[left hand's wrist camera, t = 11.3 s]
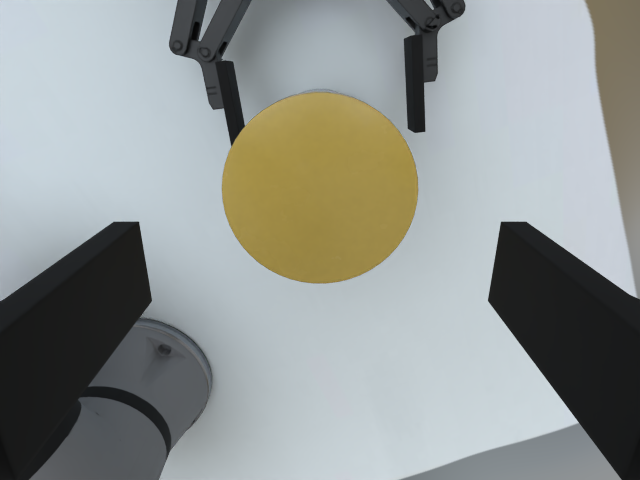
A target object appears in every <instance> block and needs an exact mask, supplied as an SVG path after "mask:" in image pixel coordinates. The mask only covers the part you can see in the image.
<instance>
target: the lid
mask: <svg viewBox="0 0 640 480" xmlns="http://www.w3.org/2000/svg"><path fill="white" fill-rule="evenodd" d="M222 197H223V204H224V209H225V214H226V216H227V219H228V222H229V225H230V227H231V229H232V231H233V233H234V235H235V236H236V238H237V239H238V241H239V242H240V244H241V245H242V246H243V248H244V249H245V250H246V251H247V252H248V253H249V254H250V255H251V256H252V257H253V258H254V259H255V260H256V261H258V262H259V263H260V264H262V265H263V266H265V267H266V268H267V269H269V270H271V271H273V272H275V273H277V274H279V275H281V276H284V277H286V278H289V279H292V280H297V281H301V282H307V283H333V282H339V281H344V280H348V279H351V278H354V277H356V276H359V275H361V274H363V273H365V272H367V271H369V270H371V269H372V268H374V267H375V266H377V265H379V264H380V263H381V262H382V261H384V260H385V259H386V258H387V257H388V256H389V255H390V254H391V253H392V252H393V251H394V250H395V249H396V248H397V246H398V245H399V244H400V242H401V241H402V239H403V238H404V236H405V235H406V233H407V231H408V229H409V227H410V225H411V222H412V219H413V217H414V213H415V209H416V205H417V197H418V177H417V171H416V166H415V163H414V159H413V156H412V153H411V151H410V149H409V147H408V145H407V143H406V141H405V139H404V138H403V137H402V135H401V134H400V132H399V131H398V129H397V128H396V127H395V126H394V125H393V124H392V123H391V122H390V120H388V119H387V118H386V117H385V116H384V115H383V114H381V113H380V112H379V111H377V110H376V109H374V108H373V107H371V106H369V105H368V104H366V103H365V102H363V101H360V100H358V99H356V98H354V97H351V96H348V95H344V94H341V93H335V92H328V91H312V92H305V93H299V94H296V95H292V96H289V97H287V98H284V99H282V100H280V101H277V102H276V103H274V104H272V105H271V106H269V107H267V108H266V109H264V110H262V111H261V112H260V113H259V114H258V115H256V116H255V117H254V118H253V119H251V121H250V122H249V123H248V124H247V125H246V126H245V127H244V128H243V129H242V131H241V132H240V134H239V135H238V136H237V138H236V139H235V141H234V143H233V145H232V147H231V149H230V151H229V154H228V157H227V159H226V162H225V166H224V172H223V178H222Z"/></svg>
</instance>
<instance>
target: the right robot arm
mask: <svg viewBox="0 0 640 480" xmlns="http://www.w3.org/2000/svg"><path fill="white" fill-rule="evenodd" d="M251 1H252V0H221V2H220V4H219V6H218V8H217V10H216V12H215V14H214V16H213V18H212V20H211V22H210V24H209V26H208V28H207V30H206V32H205V34H204V36H203V38H202V40H201V42H199V41H198V40H199V35H200V31H201V26H202V22H203V18H204V13H205V9H206V4H207V0H178V2H177V7H176V12H175V17H174V22H173V27H172V31H171V36H170V41H169V47H170V50H171V51H172V52H173V53H174V54H176V55H180V56H184V57H188V58H192V59H195V60H196V61H198V62H199V63H200V65H201V67H202V71H203V76H204V81H205V86H206V91H207V96H208V100H209V104H210V105H211V107H212V109H213V110H214V109H222V108H224V111H225V116H226V121H227V126H228V131H229V136H230V141H231V146H232V145H233V143H234V141H235V139H236V138H237V136H238V135H239V134H240V132H241V131H242V129H243V128H244V127H245V125H244V119H243V114H242V108H241V103H240V97H239V92H238V86H237V81H236V75H235V70H234V64H233V62H232V61H226V60H225V61H222V60H223V59H221V58H222V56H223V54H224V52H225V50H226V48H227V46H228V44H229V42H230V40H231V39H232V37H233V35H234V33H235V31H236V29H237V27H238V25H239V23H240V21H241V20H242V18H243V16H244V14H245V12H246V10H247V8H248V6H249V4H250V2H251ZM430 1H431V3H432V5H433V7H434V10H432V9H431V8H430V7H429V6H428V5H427V4H426V2H425V1H424V0H387V2H388V3H389V4H390V5H391V6H392V7H393V8H394V9H395V10H396V12H397V13H398V14H399V15H400V16H401V17H402V18H403V19H404V20H405V22H406V23H407V24H408V25H409V26H410V27H411V28H412V29H413V31H414V32H415V35H413V36H409V37H407V38H405V39H404V52H405V75H406V98H407V120H408V129H409V130H411V131H413V132H414V133H418V132H425V106H424V82H432V81H435V80H436V77H437V74H438V65H437V34H438V31H439V29H440V28H441V27H442V26H443V25H445V24H447V23H449V22H450V21H452V20H454V19H456V18H458V17H460V16H461V15H462V14H463V13H464V11H465V3H464V0H430Z"/></svg>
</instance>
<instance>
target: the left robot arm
mask: <svg viewBox="0 0 640 480" xmlns="http://www.w3.org/2000/svg"><path fill="white" fill-rule="evenodd" d="M151 302H152V298H151V292H150V286H149V280H148V274H147V268H146V262H145V256H144V250H143V244H142V237H141V231H140V225H139V222H113V223H111V224H110V225H109V226H107V227H106V228H104V229H103V230H102V231H100V232H99V233H97V234H96V235H94V236H93V237H92V238H90V239H89V240H87V241H86V242H85V243H83V244H82V245H80V246H79V247H78V248H76V249H75V250H73V251H72V252H70V253H69V254H68V255H66V256H65V257H63V258H62V259H61V260H59V261H58V262H56V263H55V264H53V265H52V266H51V267H49V268H48V269H46V270H45V271H44V272H42V273H41V274H39V275H38V276H36V277H35V278H34V279H32V280H31V281H29V282H28V283H27V284H25V285H24V286H22V287H21V288H19V289H18V290H17V291H15V292H14V293H12V294H11V295H10V296H8V297H7V298H5V299H4V300H2V301H0V480H159V478H160V475H161V472H162V470H163V467H164V465H165V462H166V460H167V457H168V455H169V452H170V450H171V449H172V448H173V446H174V445H175V444H176V443H177V441H178V440H179V439H180V437H181V436H182V435H183V434H184V433H185V431H186V430H188V429H189V428H190V427H191V426H192V425H193V424H194V423H195V422H196V421H197V419H198V418H199V417H200V415H201V414H202V412H203V410H204V408H205V406H206V403H207V401H208V398H209V395H210V391H211V386H212V376H211V370H210V367H209V364H208V362H207V360H206V358H205V356H204V354H203V353H202V351H201V350H200V349H199V347H198V346H197V345H196V344H195V343H194V342H193V341H192V340H191V339H190V338H189V337H187V336H186V335H185V334H183V333H182V332H180V331H178V330H177V329H175V328H173V327H171V326H169V325H166V324H164V323H161V322H158V321H153V320H149V319H141V318H140V316H141V315H142V314H143V312H144V311H145V310H146V308H147V307H148V306H149V304H150V303H151ZM488 302H489V303H490V304H491V306H492V307H493V308H494V310H495V311H496V312H497V314H498V315H499V316H500V318H501V319H502V320H503V322H504V323H505V324H506V326H507V327H508V328H509V330H510V331H511V332H512V334H513V335H514V336H515V338H516V339H517V340H518V342H519V343H520V344H521V346H522V347H523V348H524V350H525V351H526V352H527V354H528V355H529V356H530V358H531V359H532V360H533V362H534V363H535V364H536V366H537V367H538V368H539V370H540V371H541V372H542V374H543V375H544V376H545V378H546V379H547V380H548V382H549V383H550V384H551V386H552V387H553V388H554V390H555V391H556V392H557V394H558V395H559V396H560V398H561V399H562V400H563V402H564V403H565V404H566V406H567V407H568V408H569V410H570V411H571V412H572V414H573V415H574V416H575V418H576V419H577V421H578V422H579V423H580V425H581V426H582V427H583V429H584V430H585V431H586V433H587V434H588V435H589V437H590V438H591V439H592V441H593V442H594V443H595V445H596V446H597V447H598V449H599V450H600V451H601V453H602V454H603V455H604V457H605V458H606V459H607V461H608V462H609V463H610V464H611V466H612V467H613V469H614V470H615V471H616V473H617V474H618V475H619V477H620V478H621V479H622V480H640V299H638V298H635V297H633V296H631V295H629V294H628V293H626V292H625V291H623V290H622V289H621V288H619V287H618V286H616V285H615V284H613V283H612V282H611V281H609V280H608V279H606V278H605V277H604V276H602V275H601V274H599V273H598V272H596V271H595V270H594V269H592V268H591V267H589V266H588V265H587V264H585V263H584V262H582V261H581V260H579V259H578V258H577V257H575V256H574V255H572V254H571V253H570V252H568V251H567V250H565V249H564V248H562V247H561V246H560V245H558V244H557V243H555V242H554V241H553V240H551V239H550V238H548V237H547V236H546V235H544V234H543V233H541V232H540V231H538V230H537V229H536V228H534V227H533V226H531V225H530V224H529V223H527V222H501V225H500V231H499V237H498V244H497V250H496V256H495V262H494V268H493V274H492V280H491V286H490V292H489V298H488Z"/></svg>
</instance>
